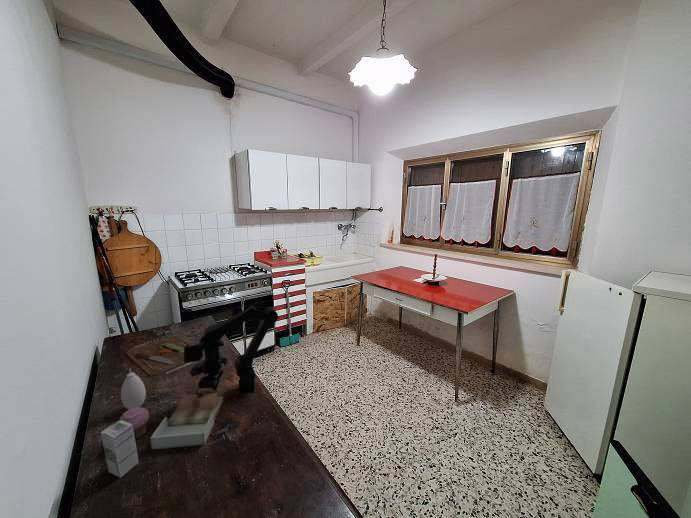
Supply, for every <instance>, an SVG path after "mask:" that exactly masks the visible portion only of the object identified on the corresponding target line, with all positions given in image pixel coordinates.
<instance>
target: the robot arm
mask: <svg viewBox="0 0 691 518" xmlns="http://www.w3.org/2000/svg"><path fill="white" fill-rule="evenodd" d="M252 318H254V319H258V320H259V325H258V327H257V329H256V331H255V332H254V334H253V335H252V338H251V340H250V342H249V344H248V346H247V347H246V350H245V352H244V353H243V354H238V355H237V357H236V360H234V363H233V364H234V369H235V374H236V376H237V377H238V378H239V379H238V389H239V394H240V393H252V392H255V389H256V387H257V384H258V382H257V380H256V372H255V369H254V367H253V366H254V365H253V362H254V358H255V355H256V354H257V352H258V351H259V348H260V346H261V345H262V343H263V341H264V338H265V336H266V334H267V333H268V331H269V329H271V328H272V327H273V326H274V325H275V324H276V323H277V321H278V320H279V314H278V312H277V311H276V310H275V308H274V307H272V306H268V307H263V306H255V305H250V306H247V308H245V309H243V310H242V311H239V313H236V314H235V315H232V316H231V317H229V318H228V319H226V320H224V321H223V322H219V323H215V324H212V325H209V326H207V327H206V328H204V329H203V331H202V336H201V337H200V339H199V340H198V343H196V344H191V346H184V363H185V364H188V363H190V362H194V361H196V363H195V362H194V363H195V364H194V365H193V366H192V367H191V369H190V371H189V372H190V376H191V377H196V376H198V375H200V374H203V375H205V376H202V377H201V378H200V379H199V381H198V383H197V389H199V390H200V389H213V391H217V390H218V388H219V385H220V383H221V379H222V377H223V375H224V374H223V373H224V372H225V370H224V369H222V368H223V366H226V367H227V366H228V363H229V359H228V358H227V357H222V356H223V355H221V350H220V347H224V346H225V342H224V340H221V339H222V338H224V336H225V335H226V334H227V333H228V332H230V331H231V330H233V329H234V328H237V327H238V326H240V325H241V324H244V323H245V322H246V321H248V320H250V319H252ZM203 352H204V355H203ZM202 358H204V360H202ZM201 360H202V361H201ZM198 361H200V362H198ZM197 362H198V363H197ZM185 364H184V365H185Z"/></svg>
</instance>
